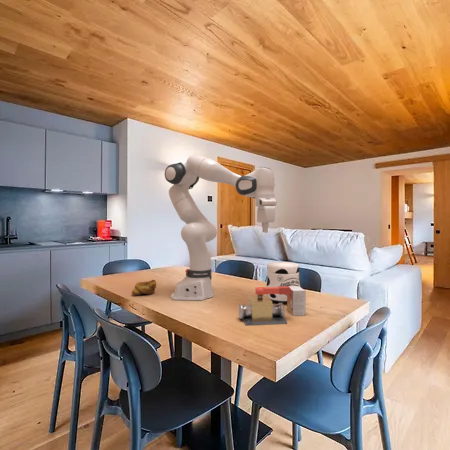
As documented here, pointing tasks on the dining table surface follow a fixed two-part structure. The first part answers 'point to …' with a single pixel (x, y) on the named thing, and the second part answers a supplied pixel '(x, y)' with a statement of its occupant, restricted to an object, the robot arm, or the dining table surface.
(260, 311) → the valve
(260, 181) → the robot arm
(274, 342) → the dining table surface
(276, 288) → the lever
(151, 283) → the bread roll
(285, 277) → the milk container
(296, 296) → the small box
